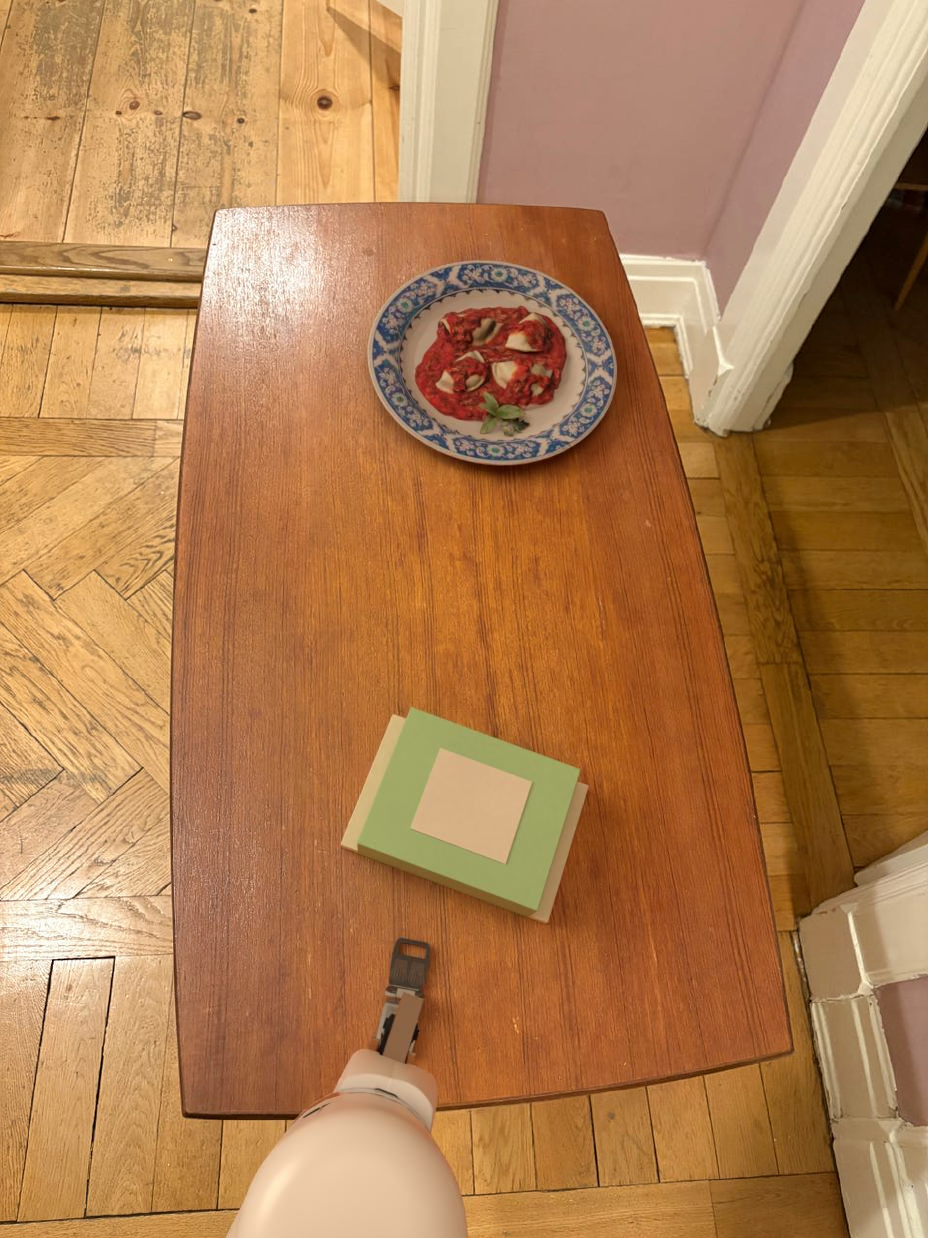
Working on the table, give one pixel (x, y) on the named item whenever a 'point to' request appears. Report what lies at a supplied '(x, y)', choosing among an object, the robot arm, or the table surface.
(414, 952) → the table surface
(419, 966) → the strap clip
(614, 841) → the table surface
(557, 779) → the green block with label
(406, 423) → the ceramic plate
